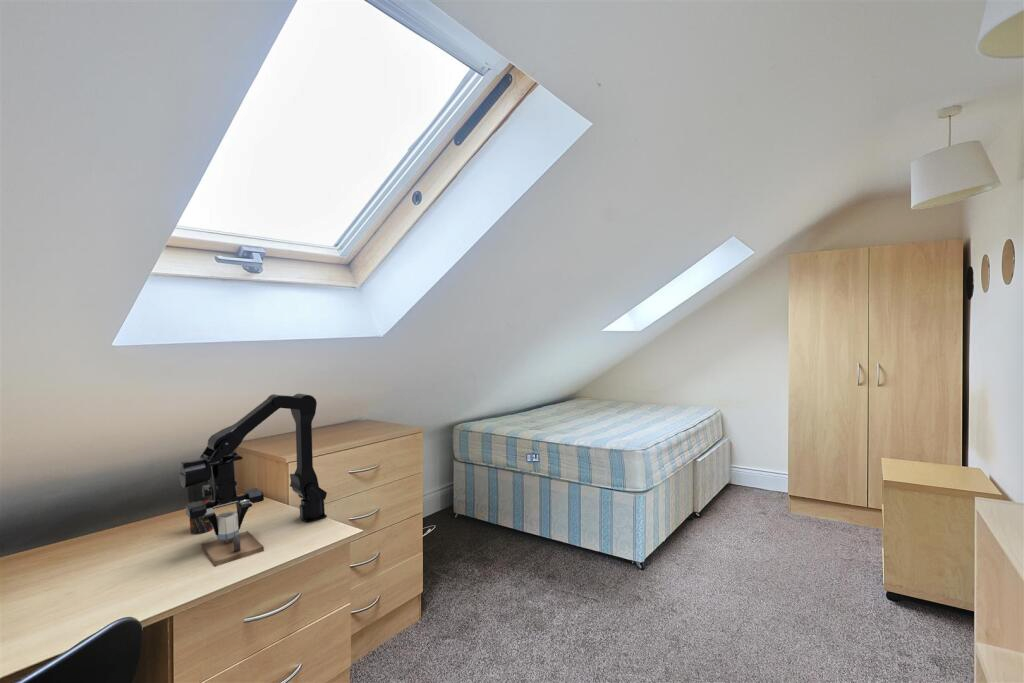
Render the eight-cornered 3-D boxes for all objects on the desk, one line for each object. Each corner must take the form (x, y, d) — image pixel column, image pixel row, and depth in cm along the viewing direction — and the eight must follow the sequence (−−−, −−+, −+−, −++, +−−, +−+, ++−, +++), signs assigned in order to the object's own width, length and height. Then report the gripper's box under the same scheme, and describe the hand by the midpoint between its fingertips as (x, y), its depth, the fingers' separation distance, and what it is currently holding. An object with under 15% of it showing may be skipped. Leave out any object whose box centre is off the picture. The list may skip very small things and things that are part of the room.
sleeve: (240, 535, 148) (239, 514, 148) (220, 541, 144) (218, 520, 144) (235, 530, 152) (234, 510, 151) (215, 535, 148) (214, 515, 148)
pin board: (247, 534, 155) (246, 517, 155) (263, 550, 144) (262, 532, 144) (201, 548, 147) (200, 530, 147) (215, 566, 136) (213, 546, 135)
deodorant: (211, 532, 158) (207, 483, 157) (188, 535, 156) (185, 486, 155) (214, 524, 163) (211, 477, 163) (192, 528, 161) (189, 480, 160)
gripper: (251, 465, 159) (254, 515, 160) (179, 480, 147) (183, 534, 148) (262, 472, 151) (266, 525, 152) (188, 489, 139) (192, 546, 140)
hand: (227, 532), depth 148 cm, fingers closed on sleeve, 5 cm apart
